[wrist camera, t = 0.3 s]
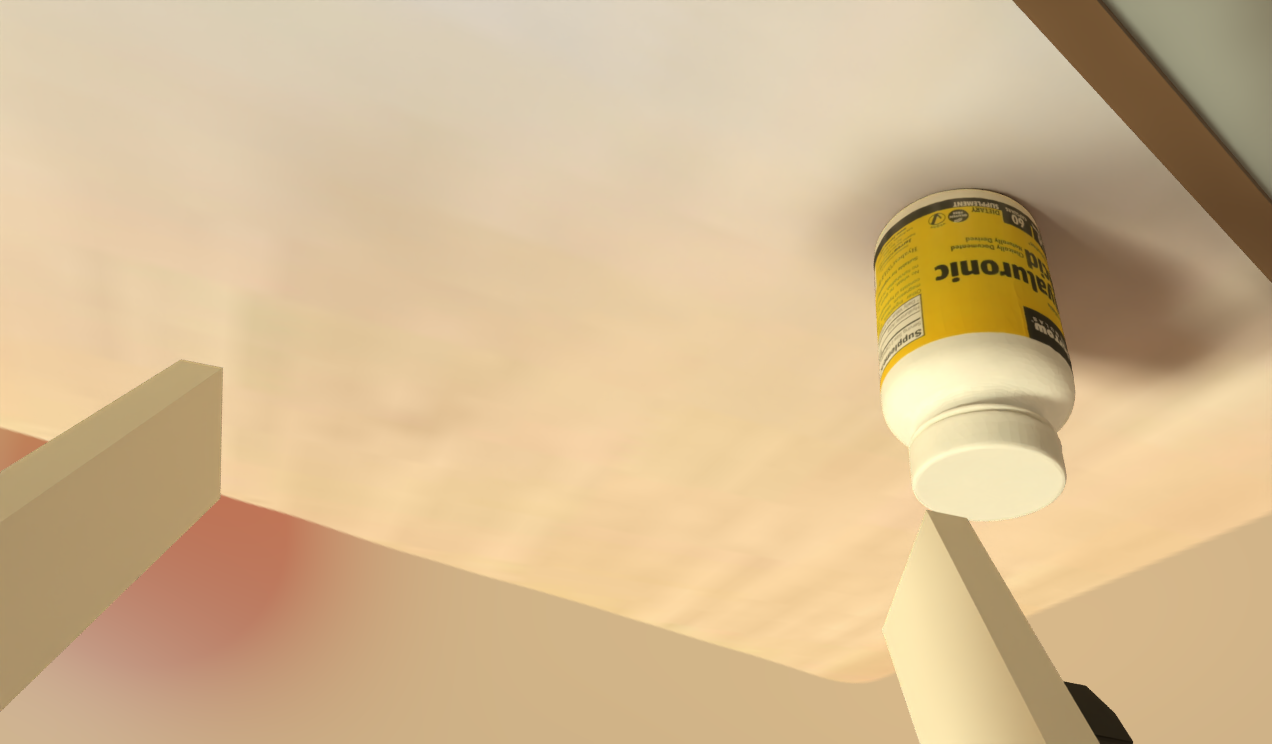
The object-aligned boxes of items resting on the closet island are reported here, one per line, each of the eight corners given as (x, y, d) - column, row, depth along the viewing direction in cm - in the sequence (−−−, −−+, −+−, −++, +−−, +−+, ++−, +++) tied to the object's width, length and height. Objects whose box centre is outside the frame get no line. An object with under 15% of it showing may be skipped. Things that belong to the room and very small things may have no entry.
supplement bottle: (1076, 213, 28) (1145, 468, 22) (975, 314, 32) (1010, 552, 26) (927, 159, 27) (958, 410, 21) (844, 270, 31) (850, 506, 25)
